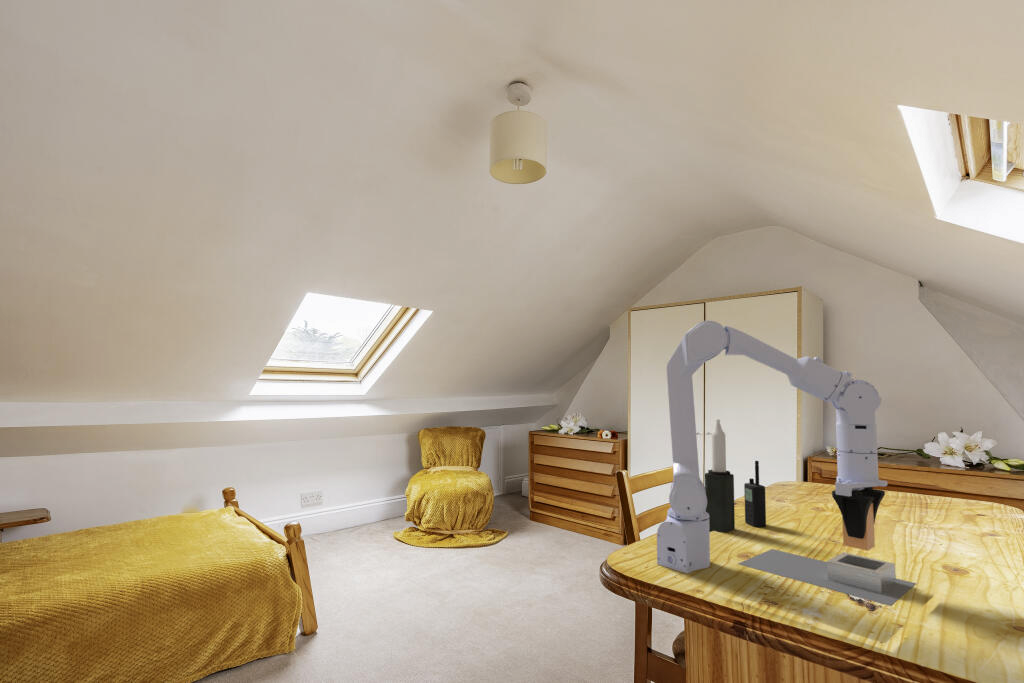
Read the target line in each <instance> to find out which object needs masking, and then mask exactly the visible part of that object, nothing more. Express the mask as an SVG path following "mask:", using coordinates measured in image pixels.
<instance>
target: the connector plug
mask: <svg viewBox="0 0 1024 683" xmlns="http://www.w3.org/2000/svg"><path fill="white" fill-rule="evenodd" d="M860 494H862V493H860ZM841 517H842V516H841ZM842 540H843V541H842V542H843V543H842V544H843V546H845V547H849V548H854V549H858V550H862V551H870V550H872V549H874V548H875V547H876V545H875V544H876V542H875V541H876V540H875V523H874V515H873V503H871V505H870V508H869V511H868V515H867V521H866V531H865V535H864V538H863V539H860V538H855V537H850V536H848V534H847V531H846V527H845V524H844V520H843V517H842Z"/></svg>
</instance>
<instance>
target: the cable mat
mask: <svg viewBox="0 0 1024 683" xmlns="http://www.w3.org/2000/svg"><path fill="white" fill-rule="evenodd" d="M737 565H740V566H743V567H747V568H751V569H754V570H758V571H762V572H764V573H765V572H766V573H768V574H771V575H776V576H780V577H784V578H787V579H791V580H794V581H798V582H801V583H805V584H809V585H813V586H816V587H820V588H824V589H827V590H831V591H835V592H838V593H843V594H845V595H849V596H853V597H857V598H859V599H864V600H866V601H867V600H868V601H870V602H875V603H878V604H882V605H886V606H889V607H891V606H892V605H893V604H895V603H896V602H897V601H898V600H899V599H900V598H902V597H903V596H904V595H906V594H907V592H909V591H910V590H911V589H912V588H913V587H914V586H915V585H916V584H917V582H913V581H908V580H905V579H904V580H903V579H900V578H896V583H895V584H893V585H892V586H891V587H889V588H888V589H887V590H886V591H884V592H883V593H882V594H881V593H877V592H873V591H869V590H865V589H862V588H858V587H854V586H850V585H846V584H842V583H839V582H835V581H831V580H828V566H827V561H824V560H820V559H817V558H812V557H807V556H804V555H799V554H796V553H791V552H786V551H782V550H778V549H774V548H772V549H769V550H767V551H764V552H762V553H759V554H757V555H754V556H752V557H750V558H747V559H745V560H743V561H741V562H739V563H737Z"/></svg>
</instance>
